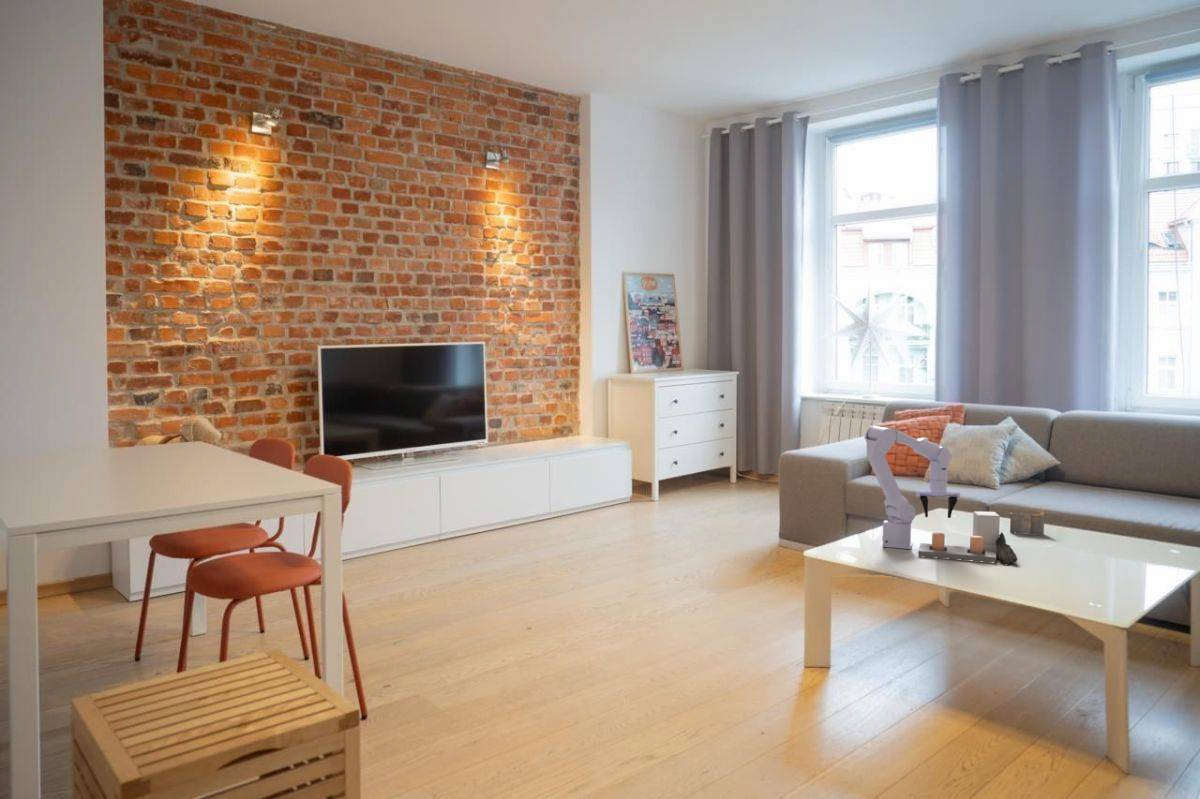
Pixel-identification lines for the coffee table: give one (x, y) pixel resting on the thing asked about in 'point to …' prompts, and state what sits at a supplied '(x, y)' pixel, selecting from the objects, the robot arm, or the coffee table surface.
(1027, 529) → the ruin model on sheet
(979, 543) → the pin
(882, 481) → the robot arm
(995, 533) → the supplement box
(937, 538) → the pin
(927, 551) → the pegboard
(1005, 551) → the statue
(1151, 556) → the coffee table surface
